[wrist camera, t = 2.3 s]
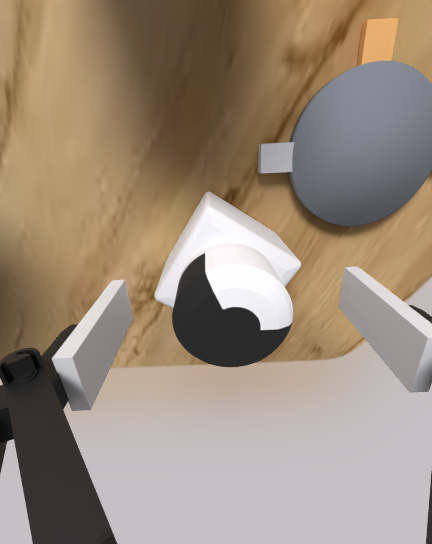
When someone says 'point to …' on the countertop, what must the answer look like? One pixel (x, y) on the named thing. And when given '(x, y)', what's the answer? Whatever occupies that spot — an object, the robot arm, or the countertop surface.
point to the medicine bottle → (228, 286)
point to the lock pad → (360, 137)
